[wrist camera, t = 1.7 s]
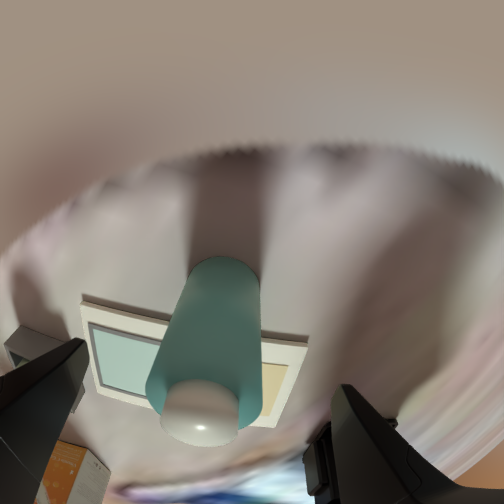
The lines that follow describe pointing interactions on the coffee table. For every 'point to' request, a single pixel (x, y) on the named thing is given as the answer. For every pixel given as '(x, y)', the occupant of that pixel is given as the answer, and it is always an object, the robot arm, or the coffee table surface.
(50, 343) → the frame
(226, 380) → the teal marker
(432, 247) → the coffee table surface
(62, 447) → the small box
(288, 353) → the colouring sheet
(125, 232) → the coffee table surface
